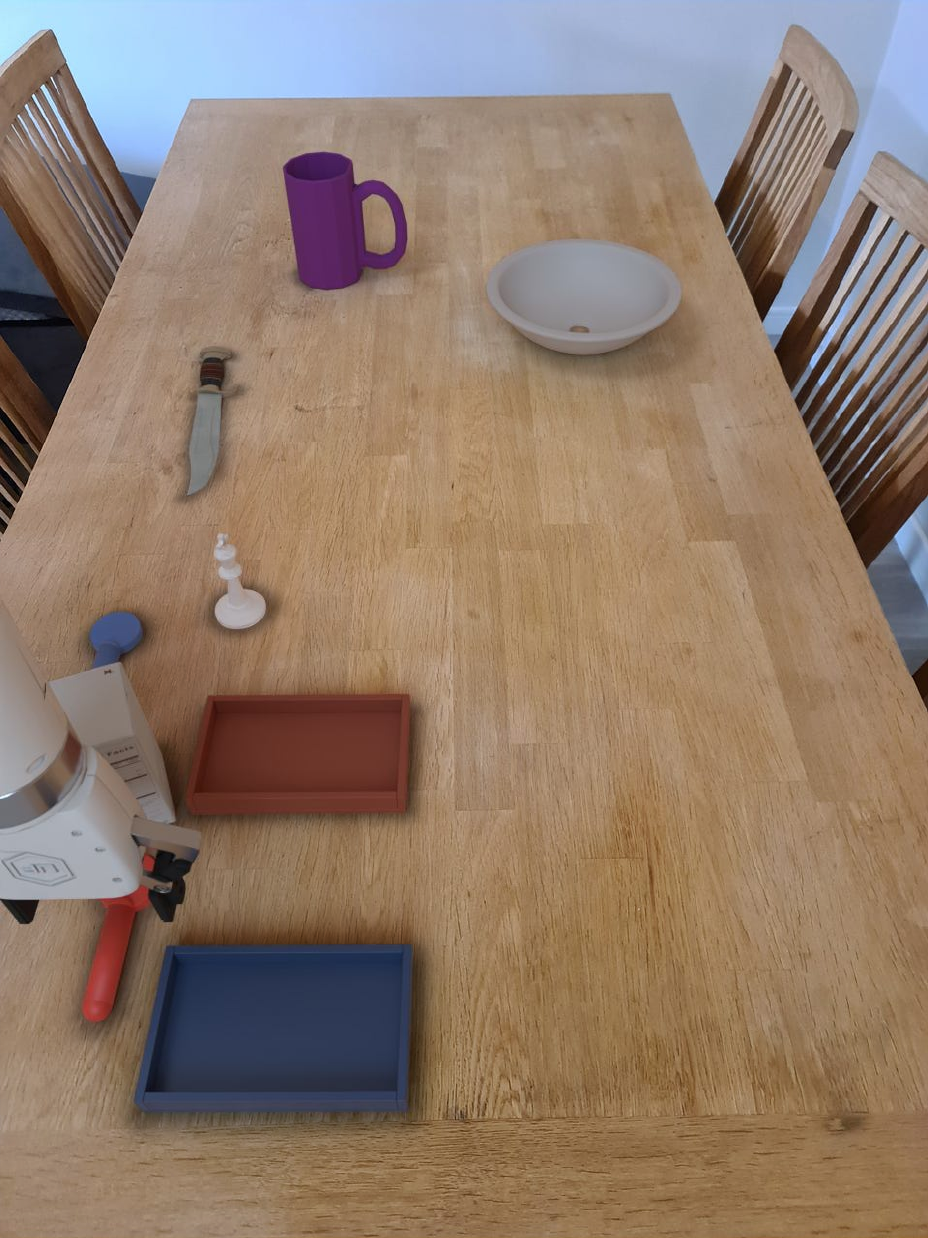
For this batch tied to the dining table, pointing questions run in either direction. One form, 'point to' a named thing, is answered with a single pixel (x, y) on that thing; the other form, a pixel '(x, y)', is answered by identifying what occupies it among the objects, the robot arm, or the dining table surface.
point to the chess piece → (235, 591)
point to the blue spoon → (114, 637)
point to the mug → (335, 220)
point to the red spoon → (112, 950)
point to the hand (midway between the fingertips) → (103, 903)
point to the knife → (207, 417)
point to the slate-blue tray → (279, 1030)
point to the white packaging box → (118, 733)
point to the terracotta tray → (301, 755)
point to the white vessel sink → (583, 294)
